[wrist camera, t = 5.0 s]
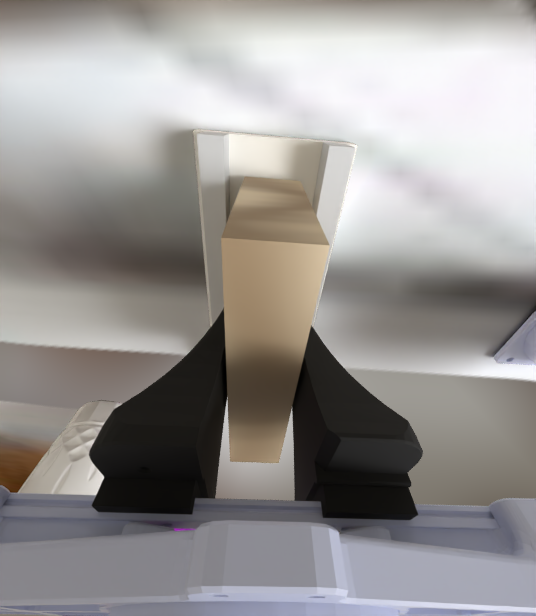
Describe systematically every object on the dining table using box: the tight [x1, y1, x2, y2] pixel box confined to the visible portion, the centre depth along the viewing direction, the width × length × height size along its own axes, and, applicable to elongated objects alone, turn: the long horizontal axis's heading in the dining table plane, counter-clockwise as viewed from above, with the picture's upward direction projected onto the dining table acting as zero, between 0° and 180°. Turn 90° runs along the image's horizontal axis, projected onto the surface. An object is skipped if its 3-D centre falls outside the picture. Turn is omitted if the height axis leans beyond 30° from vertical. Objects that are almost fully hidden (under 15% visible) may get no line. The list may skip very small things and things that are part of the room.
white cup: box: [17, 400, 122, 495], centre depth 23 cm, size 8×8×10 cm
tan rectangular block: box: [221, 176, 330, 463], centre depth 12 cm, size 2×12×7 cm, turn 176°
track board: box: [193, 129, 358, 328], centre depth 15 cm, size 7×15×2 cm, turn 176°
